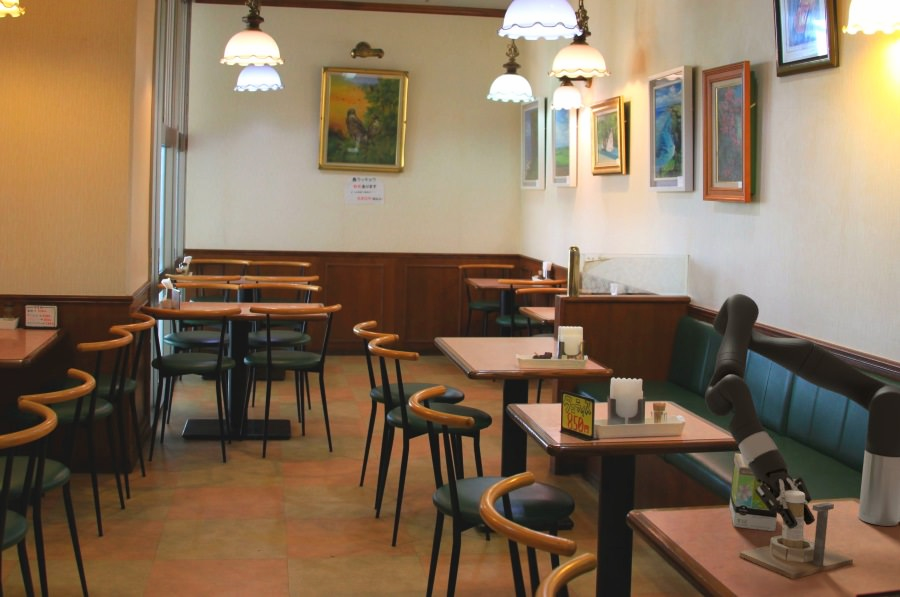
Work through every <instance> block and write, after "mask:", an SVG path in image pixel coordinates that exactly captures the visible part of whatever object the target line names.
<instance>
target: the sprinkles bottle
mask: <svg viewBox="0 0 900 597" xmlns="http://www.w3.org/2000/svg"><path fill="white" fill-rule="evenodd" d="M785 496H786V503H787V506H788V508H787V509H790V511H791V513H792V514H793V516H794V518H795V519H796V521H797V523H798V525H797V526H795V527H794V528H792V529H789V528H788V526H787V525H786V524H785V522H784V520H783V519H782V526H781V527H782V528H781V529H782V530H781V535H782V545H784V546H786V547H789V548H798V549H802V543H803V538H804V525H805V524H804V523H805V521H804V502H805V493H803V492H801V491H795V490H788V491H785Z"/></svg>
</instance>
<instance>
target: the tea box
mask: <svg viewBox="0 0 900 597" xmlns="http://www.w3.org/2000/svg"><path fill="white" fill-rule="evenodd" d="M760 485H762V483H759V482H757V480H756V479H755V477H754V475H753V473H752V472H751V470H750V468H749V466H748V465H747V463H746V461H745V459H744V458H743V456H742V453H737V452H735V453H734V458H733V468H732V478H731V486H730V488H731V489H730V497H729V498H730V499H729V511H730V515H731V520H732V521H731V522H732V524H733V527H736V528H742V529H743V528H744V529H749V530H750V529H751V530H757V529H758V530H759V531H765V530H766V532H775V531H776V527H777V520H778V519H777V518H778V513H777V512H773V513H772V512H770V510H769V509H768V508H767V507H766V505H765V504H764V503H763V501H762V500H761V499H760V497H759V496H758V495H757V493H756V492H755V489H757V488H758V487H759V486H760ZM769 502H770V503H771V505H772V506H773V505H774V504H772V501H771V500H769ZM767 530H768V531H767Z"/></svg>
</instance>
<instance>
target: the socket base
mask: <svg viewBox="0 0 900 597" xmlns="http://www.w3.org/2000/svg"><path fill="white" fill-rule="evenodd" d="M834 507H835V504H834V503H832V502H828V501H827V502H822V503H816V504H813V505H812V511H815V512H817V513H816V524H815V525H816V526H815V534H814V542H813V541H811V540H809V539H806V538H804V537H803V543H802V549H798V548H789V547H786V546H784V545H782V534H781V535H776V536H772V537H771V536H770V540H769V545H764V546H761V547H757V548H751V549H747V550H743V551H740V552H739V557H740V558H742V559H744V558H745V560H746V559H747V560H746V561H749V560H750V561H749V562H751V561H752V562H751V563H754V564H756V563H757V564H756V565H758V564H759V566H761V567H764V568H765V567H766V569H768V570H771V571H772V570H773V571H772V572H775V571H776V572H775V573H777V572H778V574H779V575H782V574H783V575H782V576H784V575H785V577H787V578H789V577H790V578H789V579H792V580H794V579H799V578H801V577H805V576H810V575H814V574H817V573H818V574H819V573H821V571H822V572H825V570H826V571H829V569H830V570H834V569H837V568H841V567H845V566H848V565H852V564H853V563H854V559H853V558H851V557H848V556H847V555H844V554H840V553H839V552H838V553H837V552H835V551H833V550H830V549H827V548H826V539H827V528H828V518H829V510H830V511H831V510H833V509H835V508H834ZM816 572H817V573H816ZM813 573H814V574H813Z"/></svg>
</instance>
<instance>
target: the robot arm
mask: <svg viewBox="0 0 900 597" xmlns="http://www.w3.org/2000/svg"><path fill="white" fill-rule="evenodd" d="M759 311H760V309H759V306H758V304H757V303H756V302H755V300H754V299H753V298H751V297H750V296H747V295H745V294H741V293H734V294H731V295H729V296H728V297H727V298H726V299H725V301H724V302H723V303H722V305H721V307H720V309H719V311H718V312H717V314H716V316H715V317H714V320H713V323H712V326H713V329H714V330H715V331H716V333H717V334H718V335H719V336H721V337H722V341H721V344H720V346H719V349H718V352H717V355H716V360H715V365H714V366H715V367H714V373H713V375H712V377H711V378H710V381H709V384H708V386H707V388H706V390H705V394H704V403H705V405H706V407H707V409H708V411H709V412H710V413H711V414H712V415H714V416H716V417H726V416H729V415H730V414H731V413H732V412H733V417H732V418H731V420H730V421H729V423H728V431H729V433H730V434H731V436H732V438H733V440H734V442H735V443H736V445H737V446H738V449H739V451H740V454H742V456H743V458H744V459H745V461H746V463H747V465H748V466H749V468H750V470H751V472H752V473H753V475H754V477H755V479H756V480H757V482H759V483H762V485H760V486H759V487H758V488H757V489H755V492H756V493H757V495H758V496H759V497H760V499H761V500H762V501H763V503H764V504H765V505H766V507H767V508H768V509H769V510H770V512H772V513H773V512H777V515H780V517H781V518H782V521H783V520H784V522H785V524H786V525H787V526H788V528H789V529H792V528H794V527H795V526H797V525H798V523H797V521H796V519H795V518H794V516H793V514H792V513H791V511H790V509H787V508H788V506H787V503H786V496H785V491H788V490H795V491H801V492H803V493H805V502H804V523H805V525H807V526H809V525H810V526H811V524H813V523H814V522H815V521H816V519H815V516H814V514H813V512H812V511H811V509H810V508H809V506H808V505H809V504H810V502H812V497H811V495H810V492H809V490H808V489H807V486H806V483H805V481H804V479H803V477H801V476H799V477H798V478H793V477H792V476H790V474H789V473H788V468H789V466H788V465H789V464H788V463H787V462H786V460H785V458H784V457H783V455H782V454H781V452H780V450H779V449H778V447H777V445H776V443H775V442H774V440H773V439H772V438H771V436H770V435H769V433H768V432H767V430H766V429H765V427H764V426H763V424H762V422H761V421H760V419H759V417H758V414H757V410H756V407H755V402H754V401H753V400H754V399H753V396H752V392H751V389H750V387H749V385H748V384H747V382H746V381H745V380H744V379H745V375H746V368H747V358H748V351H751V352H753V353H756V354H757V355H760V356H761V357H764V358H765V359H767V360H769V361H771V362H773V363H774V364H777V365H779V366H780V367H782V368H783V369H786V370H787V371H789V372H790V373H792V374H793V375H795V376H798V377H799V378H801V379H802V380H804V381H806V382H808V383H809V384H812V385H814V386H816V387H819V388H821V389H824V390H827V391H829V392H833V393H836V394H838V395H841V396H843V397H845V398H847V399H849V400H851V401H852V402H854V403H856V404H857V405H859V406H860V407H861V408H863V409H864V410H865V411H867V412H868V420H867V421H868V422H867V431H866V438H865V444H864V455H863V456H864V457H863V465H862V466H863V467H862V474H861V475H862V478H861V487H860V495H859V496H860V497H859V505H858V506H859V507H858V519H860V520H861V521H862V522H866V523H869V524H872V525H877V526H883V527H894V526H898V525H899V523H900V388H897V387H895V386H892V385H891V384H888V383H886V382H884V381H881V380H879V379H878V378H875V377H872V376H869V375H868V374H866V373H864V372H862V371H860V370H859V369H857V368H855V367H854V366H853V365H851V364H850V363H849V362H847V361H846V360H844V359H842V358H841V357H839V356H837V355H836V354H834V353H832V352H831V351H829V350H828V349H826V348H824V347H822V346H820V345H819V344H817V343H815V342H813V341H811V340H809V339H804V338H797V337H796V338H795V337H794V338H793V337H773V336H769V335H766V334H764V333H761V332H759V331H756V330H755V329H754V326H755V324H756V322H757V320H758V317H759ZM769 500H771V501H772V504H774V505H773V506H772V505H771V503H770V502H769Z"/></svg>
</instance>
